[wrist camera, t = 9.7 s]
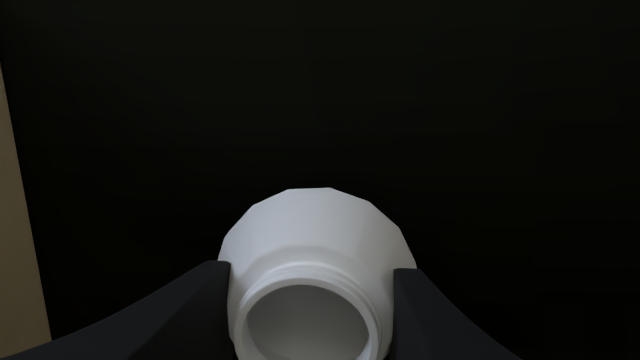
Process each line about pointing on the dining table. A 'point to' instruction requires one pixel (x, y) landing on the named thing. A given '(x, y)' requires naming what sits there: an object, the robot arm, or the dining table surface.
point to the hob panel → (17, 253)
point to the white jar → (313, 278)
